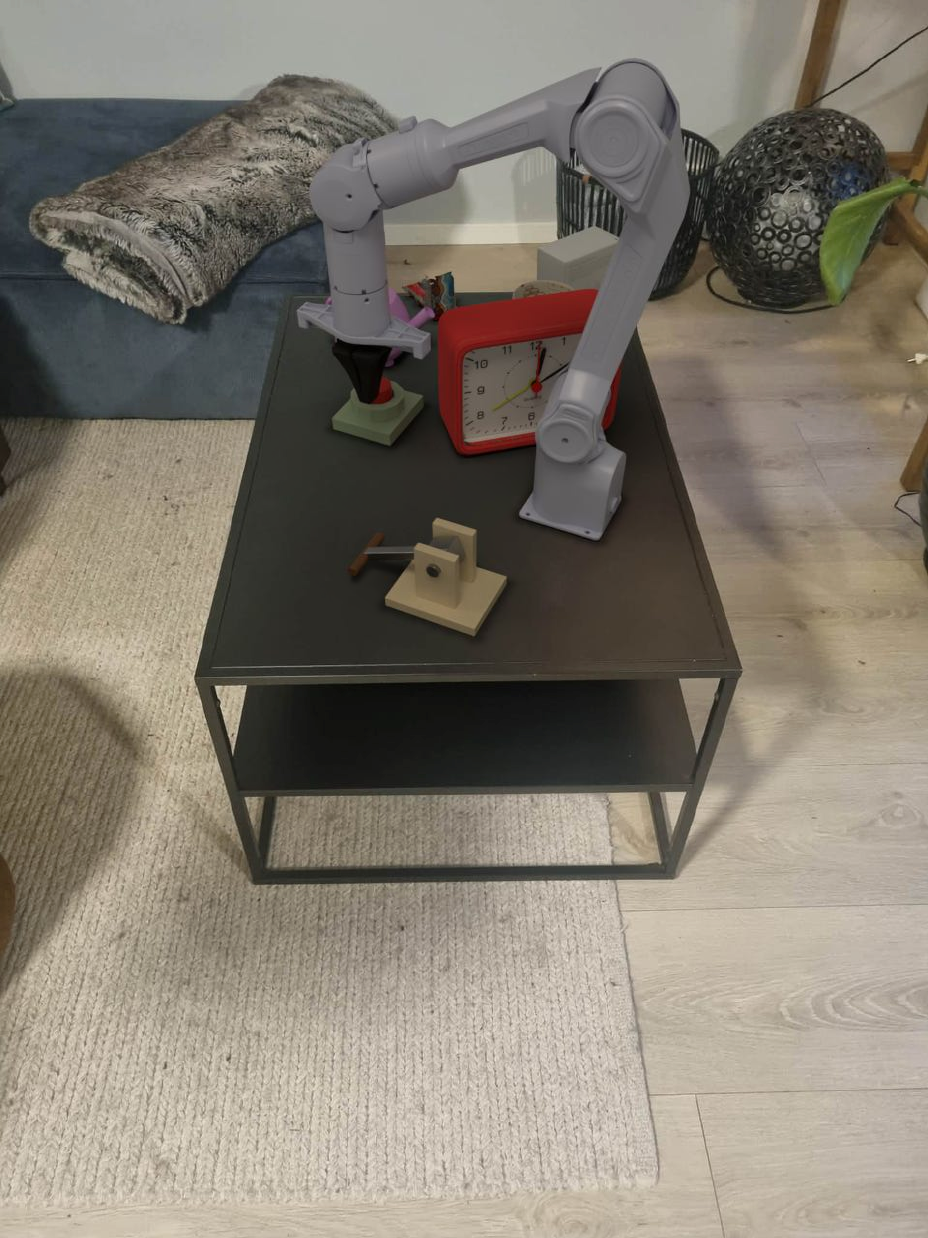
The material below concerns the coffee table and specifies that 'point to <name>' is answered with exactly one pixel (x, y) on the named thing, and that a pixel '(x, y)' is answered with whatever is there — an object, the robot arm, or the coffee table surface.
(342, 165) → the robot arm
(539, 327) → the alarm clock
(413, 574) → the bracket
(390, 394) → the button
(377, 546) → the lever
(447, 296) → the multicoloured jagged piece
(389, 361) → the teapot
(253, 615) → the coffee table surface
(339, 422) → the button box
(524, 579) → the coffee table surface
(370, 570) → the coffee table surface
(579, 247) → the cosmetics box
